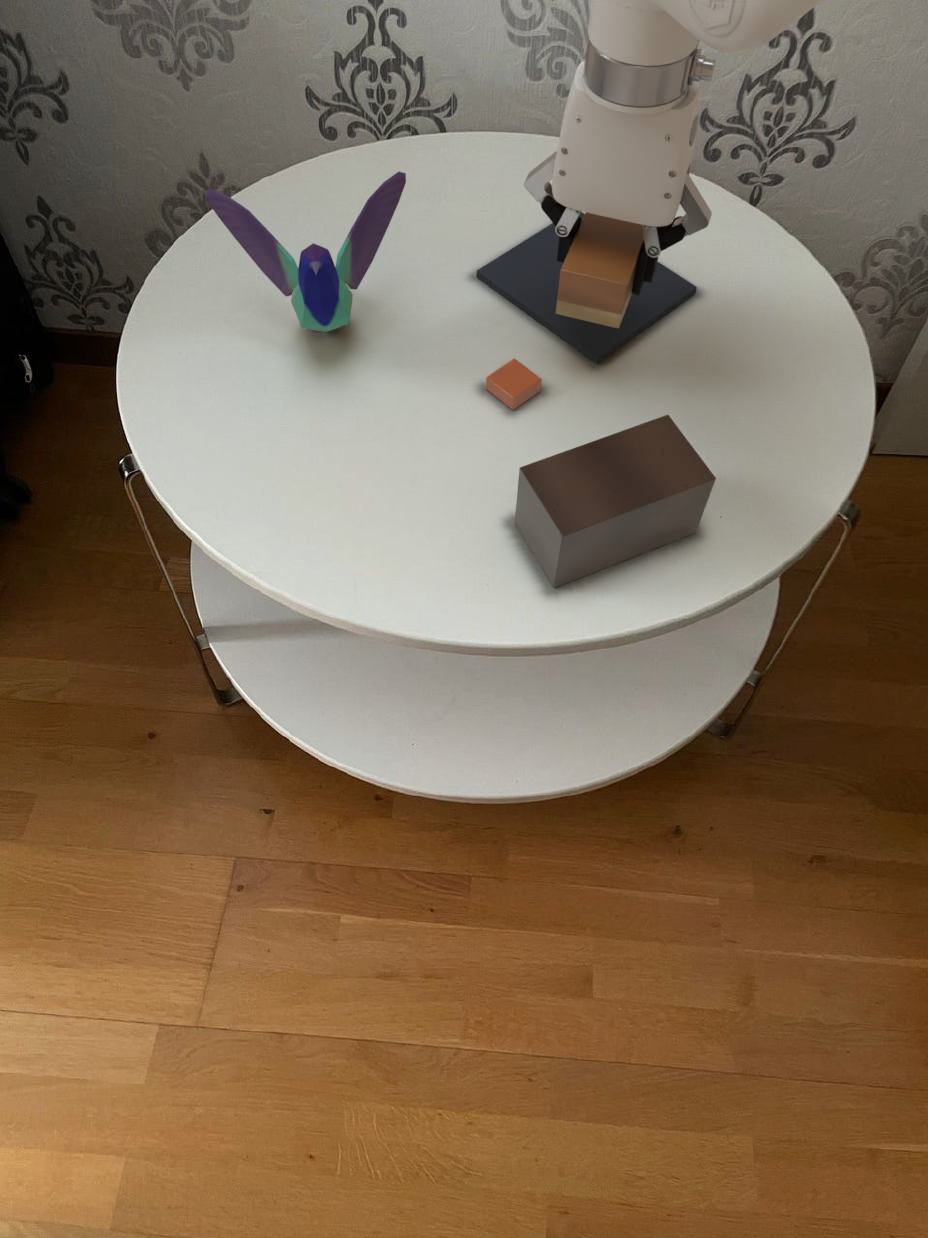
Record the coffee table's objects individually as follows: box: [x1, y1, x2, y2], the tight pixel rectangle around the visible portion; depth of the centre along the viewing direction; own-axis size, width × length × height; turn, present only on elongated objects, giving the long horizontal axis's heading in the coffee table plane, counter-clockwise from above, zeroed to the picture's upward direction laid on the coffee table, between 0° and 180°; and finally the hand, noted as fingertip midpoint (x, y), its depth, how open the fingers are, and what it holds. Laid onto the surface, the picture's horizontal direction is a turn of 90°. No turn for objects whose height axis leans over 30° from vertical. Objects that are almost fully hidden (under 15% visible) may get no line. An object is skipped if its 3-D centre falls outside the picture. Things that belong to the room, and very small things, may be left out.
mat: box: [476, 211, 698, 365], centre depth 91 cm, size 16×14×1 cm
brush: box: [556, 212, 644, 328], centre depth 80 cm, size 11×6×4 cm, turn 161°
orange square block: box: [485, 358, 543, 411], centre depth 84 cm, size 4×4×2 cm
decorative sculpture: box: [204, 171, 407, 333], centre depth 81 cm, size 17×18×15 cm
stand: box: [514, 414, 717, 589], centre depth 74 cm, size 13×7×7 cm, turn 115°
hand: (604, 274), depth 82 cm, fingers closed on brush, 5 cm apart
